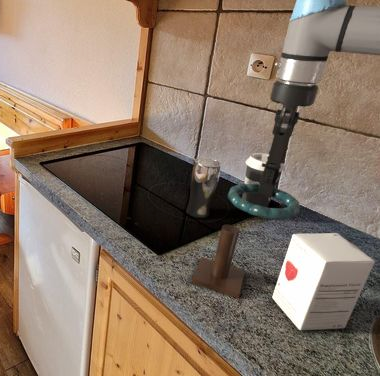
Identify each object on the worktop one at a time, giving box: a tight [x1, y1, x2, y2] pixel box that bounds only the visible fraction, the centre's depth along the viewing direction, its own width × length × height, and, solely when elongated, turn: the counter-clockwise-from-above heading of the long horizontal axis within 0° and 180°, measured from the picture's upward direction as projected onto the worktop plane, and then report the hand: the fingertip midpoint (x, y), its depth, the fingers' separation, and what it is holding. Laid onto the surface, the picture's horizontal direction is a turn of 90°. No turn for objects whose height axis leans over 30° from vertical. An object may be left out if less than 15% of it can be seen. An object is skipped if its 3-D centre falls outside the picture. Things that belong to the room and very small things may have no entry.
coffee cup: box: [241, 152, 286, 208], centre depth 112 cm, size 10×10×15 cm
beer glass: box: [185, 157, 222, 219], centre depth 108 cm, size 7×7×15 cm
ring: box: [227, 183, 301, 220], centre depth 82 cm, size 13×13×2 cm
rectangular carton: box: [271, 232, 376, 331], centre depth 73 cm, size 9×9×15 cm
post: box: [191, 224, 246, 299], centre depth 82 cm, size 9×9×12 cm
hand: (264, 193), depth 87 cm, fingers closed on ring, 2 cm apart
